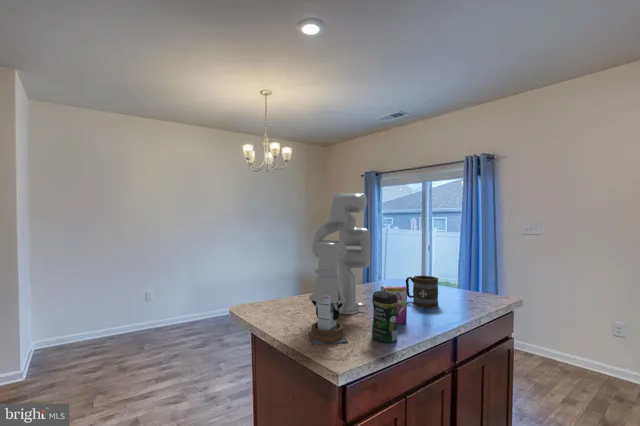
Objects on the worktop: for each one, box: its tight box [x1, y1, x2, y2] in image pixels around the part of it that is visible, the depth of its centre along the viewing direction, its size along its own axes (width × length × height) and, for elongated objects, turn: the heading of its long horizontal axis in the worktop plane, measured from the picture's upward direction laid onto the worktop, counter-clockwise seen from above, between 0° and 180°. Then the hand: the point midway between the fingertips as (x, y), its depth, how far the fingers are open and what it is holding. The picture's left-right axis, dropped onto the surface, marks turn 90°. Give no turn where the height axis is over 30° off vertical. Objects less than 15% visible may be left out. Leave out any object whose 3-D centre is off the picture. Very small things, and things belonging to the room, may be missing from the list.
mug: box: [405, 275, 439, 309], centre depth 184 cm, size 20×14×15 cm
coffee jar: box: [371, 290, 398, 344], centre depth 131 cm, size 10×8×19 cm
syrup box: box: [317, 295, 338, 330], centre depth 133 cm, size 6×6×14 cm
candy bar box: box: [380, 285, 408, 325], centre depth 151 cm, size 11×5×16 cm, turn 100°
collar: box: [308, 321, 349, 346], centre depth 133 cm, size 14×14×4 cm
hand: (327, 317), depth 133 cm, fingers closed on syrup box, 6 cm apart
